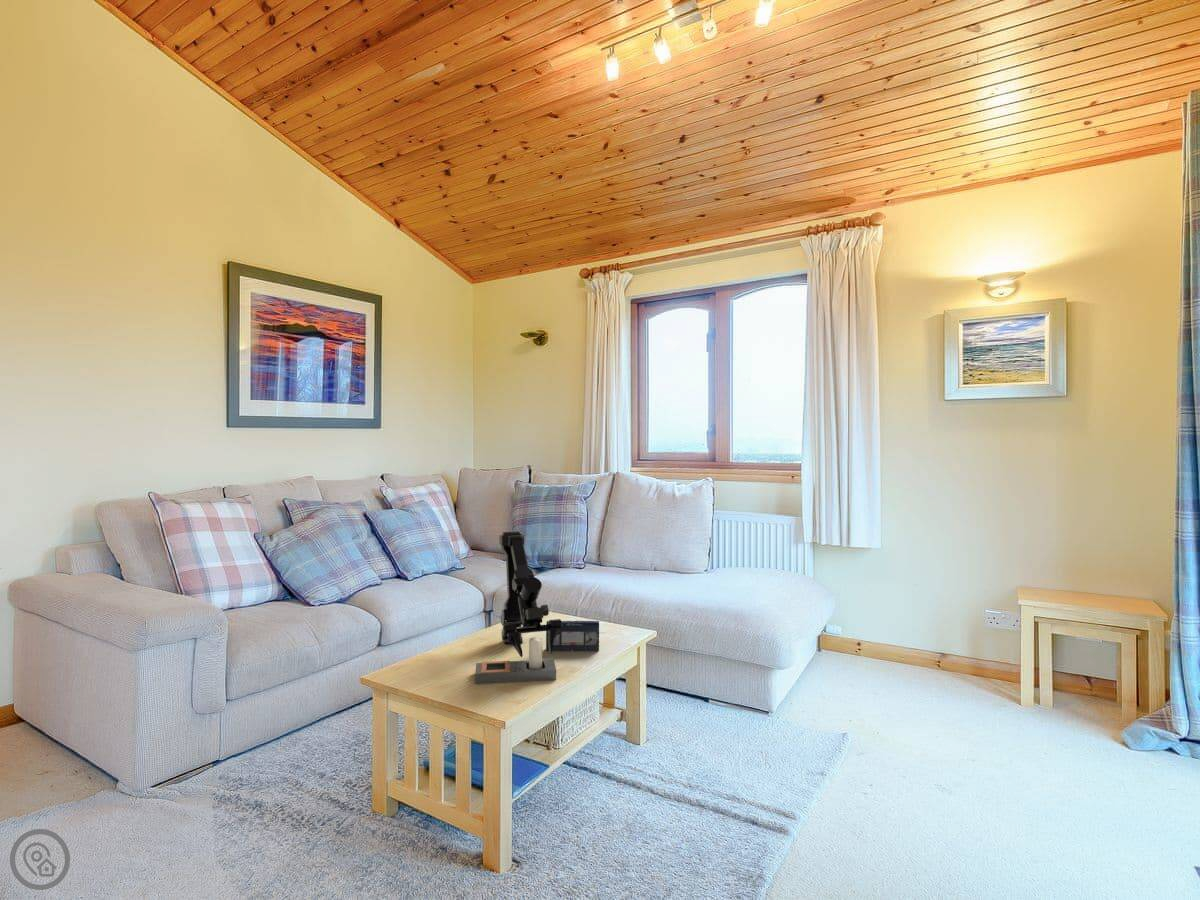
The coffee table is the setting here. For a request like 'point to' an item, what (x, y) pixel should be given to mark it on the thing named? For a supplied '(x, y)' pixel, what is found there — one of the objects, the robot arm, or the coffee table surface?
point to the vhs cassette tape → (576, 636)
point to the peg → (535, 653)
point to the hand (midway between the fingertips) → (536, 654)
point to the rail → (513, 672)
